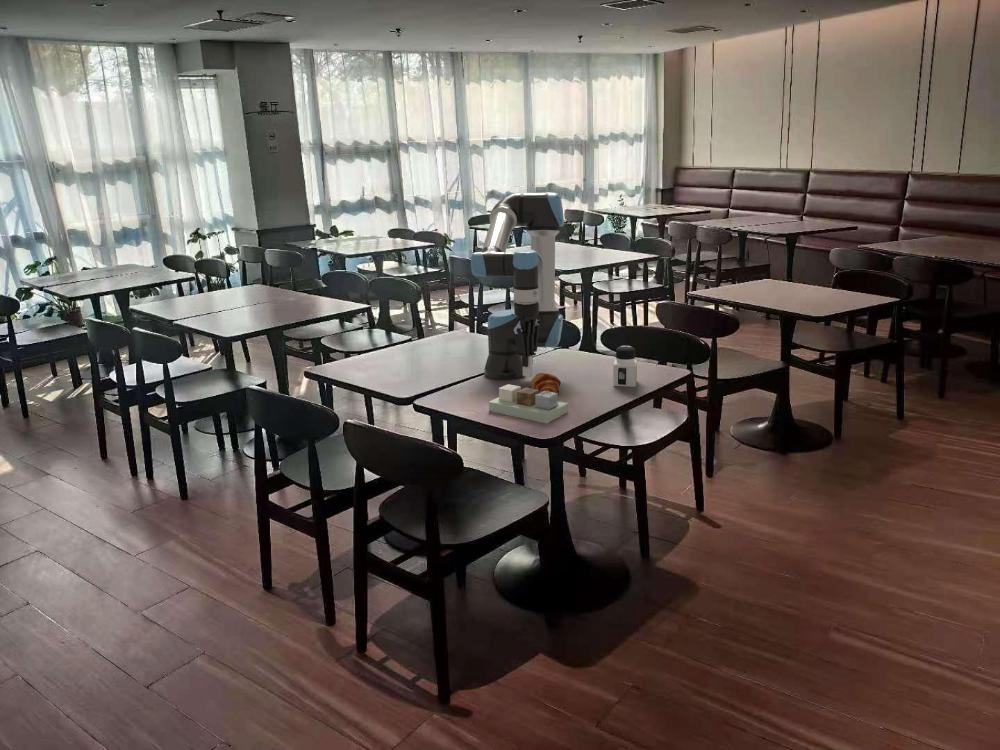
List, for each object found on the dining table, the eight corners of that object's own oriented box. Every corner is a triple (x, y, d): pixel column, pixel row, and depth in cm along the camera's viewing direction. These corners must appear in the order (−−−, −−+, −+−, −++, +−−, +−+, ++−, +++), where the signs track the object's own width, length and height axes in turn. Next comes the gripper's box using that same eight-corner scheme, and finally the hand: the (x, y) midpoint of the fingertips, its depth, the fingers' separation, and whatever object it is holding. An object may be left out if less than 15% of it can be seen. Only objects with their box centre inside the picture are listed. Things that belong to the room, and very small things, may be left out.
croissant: (534, 391, 286) (523, 372, 284) (559, 377, 285) (548, 358, 283) (540, 410, 266) (528, 390, 264) (567, 395, 265) (555, 375, 263)
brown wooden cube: (517, 406, 254) (516, 391, 253) (526, 402, 258) (525, 387, 257) (530, 409, 252) (530, 394, 250) (539, 404, 255) (538, 389, 254)
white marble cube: (535, 410, 250) (535, 394, 249) (544, 405, 254) (544, 390, 253) (549, 413, 248) (549, 397, 246) (557, 408, 251) (557, 393, 250)
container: (635, 387, 277) (636, 350, 273) (613, 386, 278) (613, 349, 274) (636, 380, 284) (637, 344, 280) (614, 379, 285) (615, 344, 281)
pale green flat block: (489, 410, 257) (488, 401, 256) (510, 400, 266) (510, 391, 266) (547, 423, 245) (547, 414, 244) (567, 412, 254) (567, 403, 253)
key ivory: (499, 403, 259) (498, 388, 257) (508, 398, 262) (507, 384, 261) (511, 405, 256) (511, 390, 254) (520, 401, 260) (520, 386, 258)
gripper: (524, 307, 238) (525, 383, 245) (548, 299, 248) (549, 372, 255) (503, 304, 242) (505, 379, 249) (528, 296, 252) (529, 368, 259)
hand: (527, 375), depth 252 cm, fingers closed
